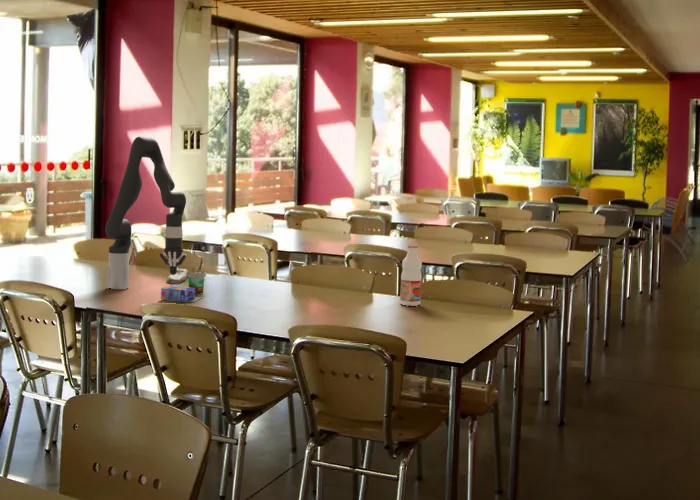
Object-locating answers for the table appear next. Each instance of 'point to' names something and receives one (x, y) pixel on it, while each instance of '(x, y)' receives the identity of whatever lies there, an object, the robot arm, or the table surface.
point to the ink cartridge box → (177, 293)
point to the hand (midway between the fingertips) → (173, 274)
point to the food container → (197, 281)
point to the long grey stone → (178, 276)
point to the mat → (190, 300)
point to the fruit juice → (411, 278)
